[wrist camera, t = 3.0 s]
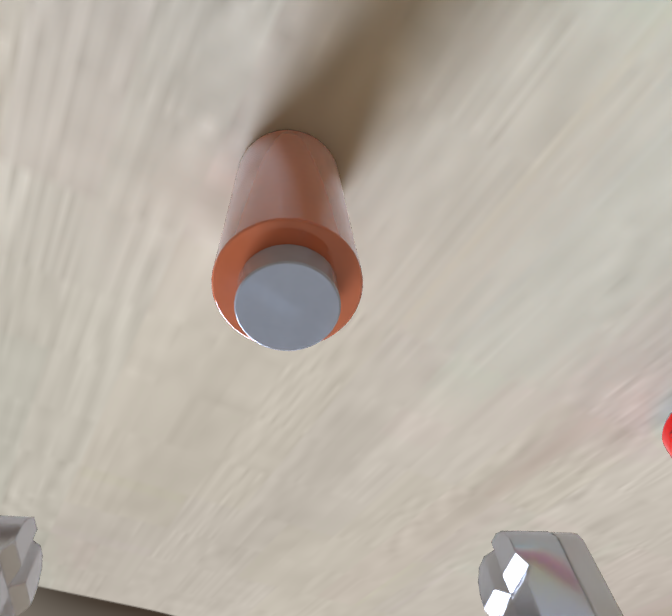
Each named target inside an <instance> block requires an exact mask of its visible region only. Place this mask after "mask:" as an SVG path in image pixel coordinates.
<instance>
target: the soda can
mask: <svg viewBox="0 0 672 616" xmlns="http://www.w3.org/2000/svg"><path fill="white" fill-rule="evenodd" d="M662 440H663V444H664V446H665V448H666V450H667V452H668V453H669V454H670V456H671V457H672V412H671V413H670V414H669V416H668V418H667V420H666V422H665V424H664V427H663V432H662Z"/></svg>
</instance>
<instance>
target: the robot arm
mask: <svg viewBox="0 0 672 616" xmlns="http://www.w3.org/2000/svg"><path fill="white" fill-rule="evenodd" d="M36 532H37V526H36V522H35V518H34V517H26V516H3V515H0V616H19V615H20V614H21V613H23V612H24V611H25V610H26V609H27V608H28V607H29V606H30V605H31V603H32V601H33V598H34V595H35V593H36V590H37V588H38V584H39V579H40V575H41V571H42V558H43V555H42V549H41V546H40V545H39V544H38V543H36V542H35V541H34V540H33V539H34V536H35V534H36ZM491 543H492V546H493V548H494V550H493V551H492V552H490V553H489V554H487V555H486V556H484V558H483V560H482V562H481V564H480V567H479V577H478V584H479V591H480V596H481V600H482V603H483V606H484V609H485V610H486V611H487V612H488V613H489V614H490V615H491V616H623V614H622V612H621V610H620V608H619V606H618V605H617V603H616V601H615V599H614V597H613V595H612V593H611V591H610V589H609V588H608V586H607V584H606V582H605V580H604V578H603V576H602V574H601V572H600V571H599V569H598V567H597V565H596V563H595V561H594V559H593V557H592V555H591V554H590V552H589V550H588V548H587V546H586V544H585V542H584V541H583V539H582V538H581V537H580V536H579V535H578V534H576V533H564V532H548V531H500V532H498V533H496V534H495V536H494V538H493V540H492V542H491Z"/></svg>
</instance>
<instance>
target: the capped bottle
mask: <svg viewBox="0 0 672 616" xmlns="http://www.w3.org/2000/svg"><path fill="white" fill-rule="evenodd" d="M211 281H212V292H213V297H214V300H215V303H216V305H217V307H218V309H219V311H220V313H221V314H222V316H223V317H224V319H225V320H226V321H227V322H228V323H229V324H230V326H231V327H233V328H234V329H235V330H236V331H237V332H239V333H240V334H242V335H243V336H245V337H246V338H248V339H250V340H252V341H255V342H257V343H259V344H261V345H263V346H265V347H268V348H271V349H275V350H281V351H293V350H300V349H304V348H308V347H310V346H313V345H315V344H317V343H318V342H320V341H323V340H325V339H327V338H329V337H330V336H332V335H334V334H335V333H336V332H338V331H339V330H340V329H341V328H342V327H343V326H344V325H346V323H347V322H348V321H349V320H350V319H351V317H352V316H353V314H354V312H355V311H356V309H357V307H358V304H359V302H360V299H361V295H362V288H363V277H362V271H361V266H360V262H359V257H358V253H357V249H356V245H355V240H354V236H353V232H352V227H351V223H350V219H349V215H348V210H347V206H346V202H345V197H344V193H343V189H342V185H341V180H340V176H339V172H338V168H337V165H336V162H335V160H334V158H333V156H332V154H331V153H330V151H329V150H328V149H327V148H326V147H325V146H324V145H323V144H322V143H321V142H320V141H319V140H317V139H316V138H314V137H312V136H310V135H308V134H306V133H303V132H299V131H294V130H280V131H275V132H271V133H268V134H266V135H264V136H262V137H260V138H259V139H257V140H256V141H255V142H254V143H252V144H251V145H250V146H249V148H248V149H247V150H246V151H245V153H244V155H243V156H242V159H241V161H240V164H239V167H238V171H237V175H236V179H235V183H234V187H233V191H232V195H231V199H230V203H229V207H228V211H227V215H226V219H225V223H224V227H223V231H222V235H221V239H220V243H219V247H218V251H217V255H216V259H215V263H214V267H213V271H212V279H211Z"/></svg>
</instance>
